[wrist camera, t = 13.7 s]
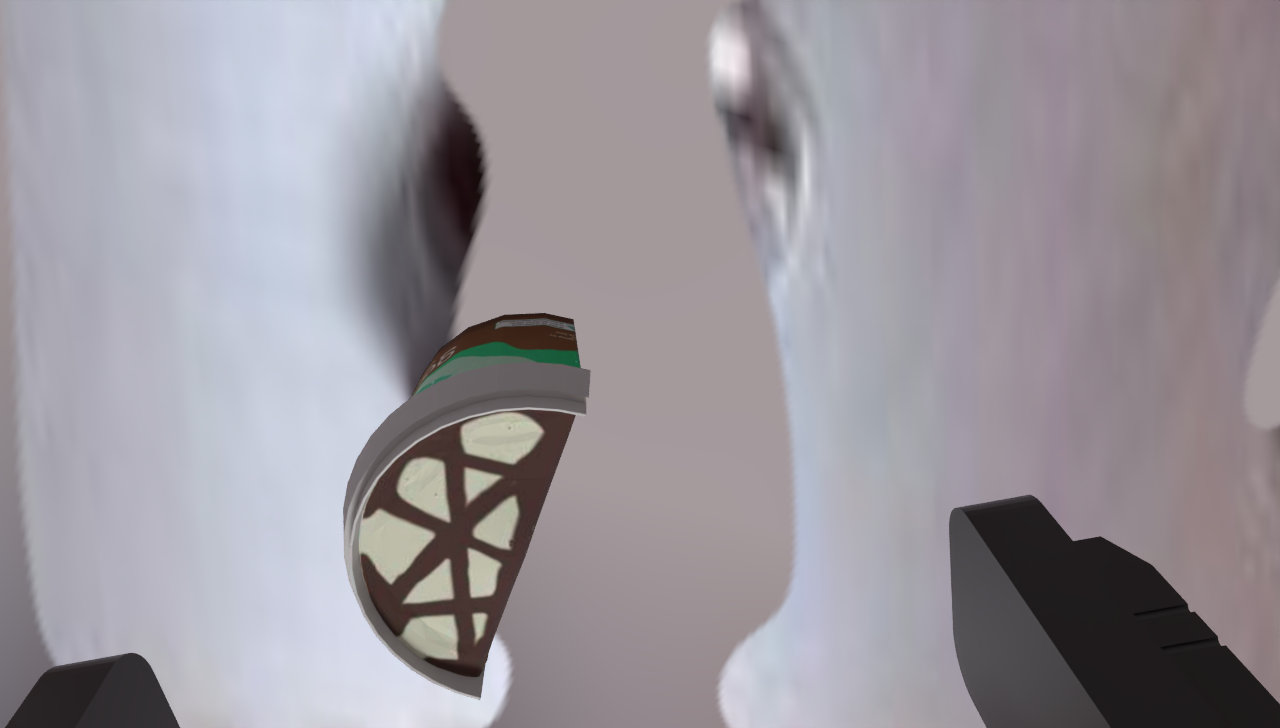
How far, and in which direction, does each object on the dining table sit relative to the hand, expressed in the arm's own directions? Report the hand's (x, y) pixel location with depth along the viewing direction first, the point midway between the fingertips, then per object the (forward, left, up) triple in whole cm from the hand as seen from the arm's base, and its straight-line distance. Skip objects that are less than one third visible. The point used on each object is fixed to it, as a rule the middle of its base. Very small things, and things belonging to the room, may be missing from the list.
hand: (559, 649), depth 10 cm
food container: (+6, +10, -28) cm, 31 cm away
